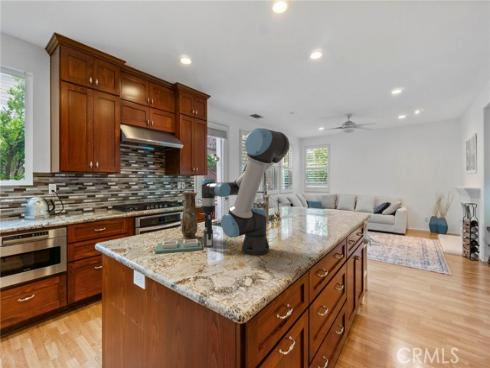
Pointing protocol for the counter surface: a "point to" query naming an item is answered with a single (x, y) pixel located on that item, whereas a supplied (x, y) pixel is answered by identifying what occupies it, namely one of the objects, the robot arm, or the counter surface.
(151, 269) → the counter surface
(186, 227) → the vase
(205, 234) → the plug
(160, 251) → the board
